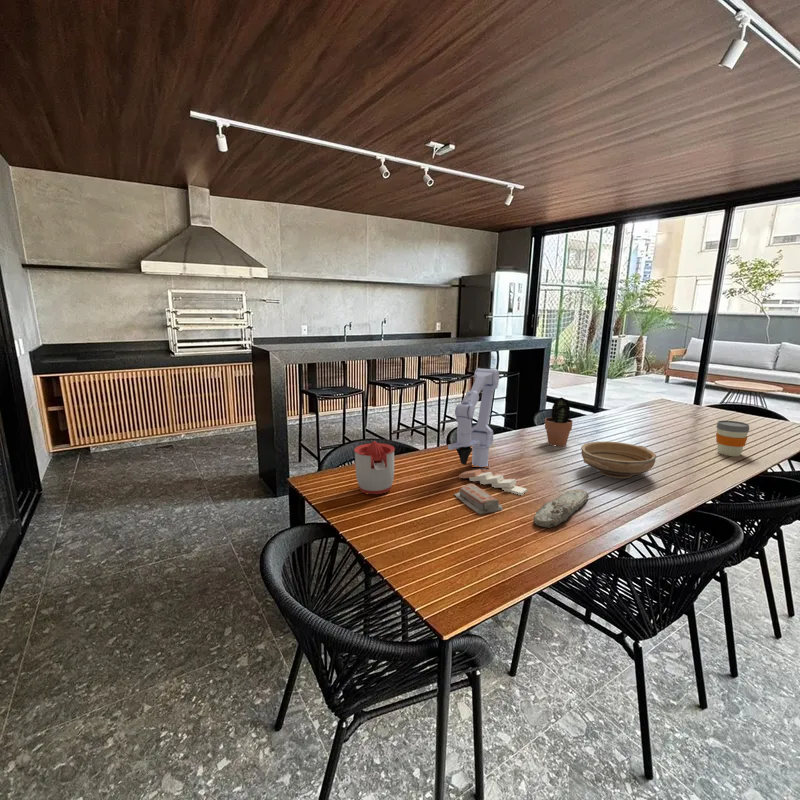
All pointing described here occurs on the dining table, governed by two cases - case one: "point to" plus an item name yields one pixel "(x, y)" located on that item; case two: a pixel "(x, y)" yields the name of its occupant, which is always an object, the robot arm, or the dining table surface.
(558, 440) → the potted plant
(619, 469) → the ceramic bowl
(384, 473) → the citrus juicer
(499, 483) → the domino
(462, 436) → the robot arm
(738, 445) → the reusable coffee cup
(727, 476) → the dining table surface
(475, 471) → the brown rectangular block
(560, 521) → the long grey stone
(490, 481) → the domino
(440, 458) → the dining table surface
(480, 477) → the cream white flat block
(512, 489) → the domino
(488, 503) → the packaged product
